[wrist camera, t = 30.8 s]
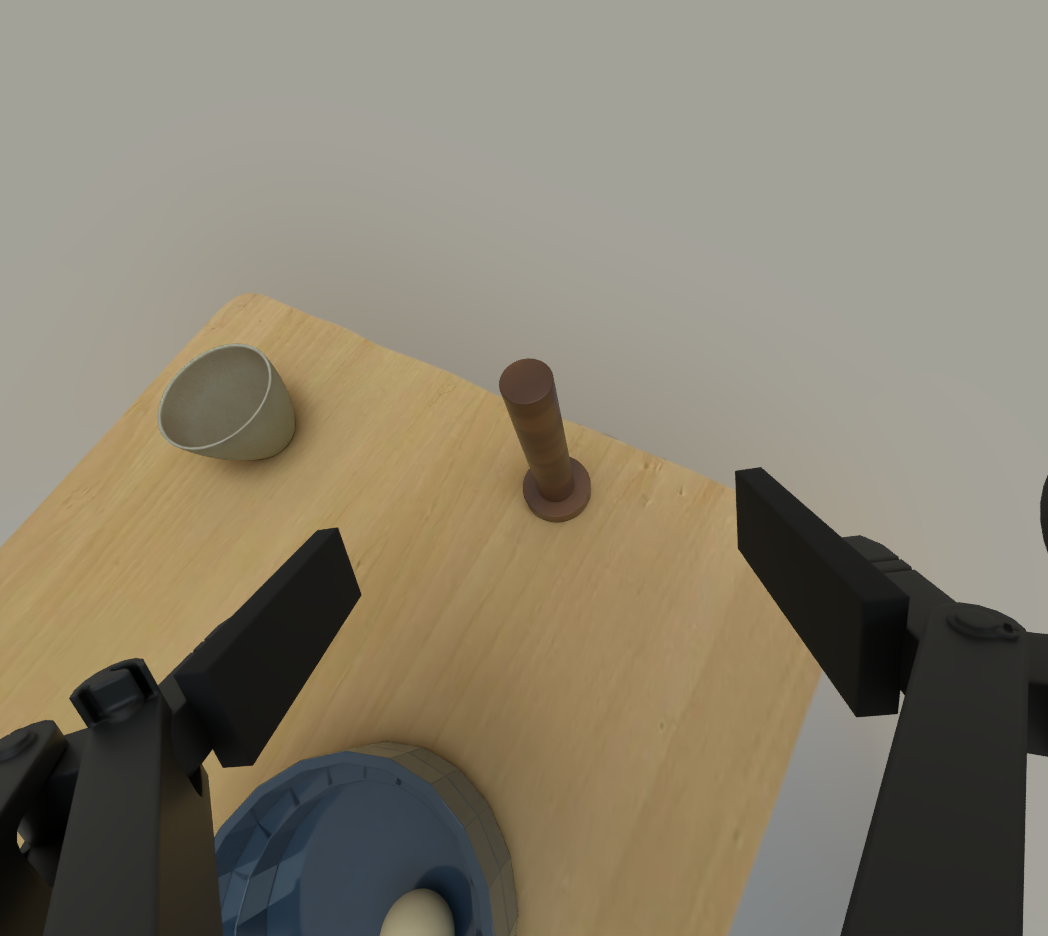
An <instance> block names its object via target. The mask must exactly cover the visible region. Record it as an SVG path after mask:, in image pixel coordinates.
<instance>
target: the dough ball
mask: <svg viewBox="0 0 1048 936" xmlns="http://www.w3.org/2000/svg"><path fill="white" fill-rule="evenodd" d="M380 936H455V928H454V920H453V916H452V913H451V910H450V908H449V906H448V904H447V902H446V901H445V900H444V899H443V898H442V897H441V896H440V895H439V894H438V893H436V892H435V891H432V890H429V889H415V890H412V891H410V892H408V893H406V894H404V895H403V896H402V897H400V898H399V899H398V900H397V901H396V902H395V903H394V905H393V906H392V907H391V909H390V910H389V912H388V914H387V915H386V918H385V920H384V922H383V925H382V928H381V932H380Z"/></svg>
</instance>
